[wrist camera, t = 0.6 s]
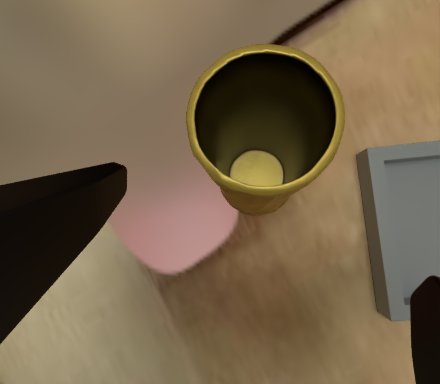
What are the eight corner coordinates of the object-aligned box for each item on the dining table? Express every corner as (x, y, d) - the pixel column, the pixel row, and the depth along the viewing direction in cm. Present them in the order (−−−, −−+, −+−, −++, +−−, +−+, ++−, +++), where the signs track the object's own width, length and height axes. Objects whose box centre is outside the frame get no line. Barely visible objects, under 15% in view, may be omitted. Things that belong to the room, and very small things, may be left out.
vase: (214, 147, 24) (163, 47, 10) (288, 135, 24) (343, 12, 9) (224, 219, 23) (183, 222, 9) (300, 209, 23) (378, 195, 9)
